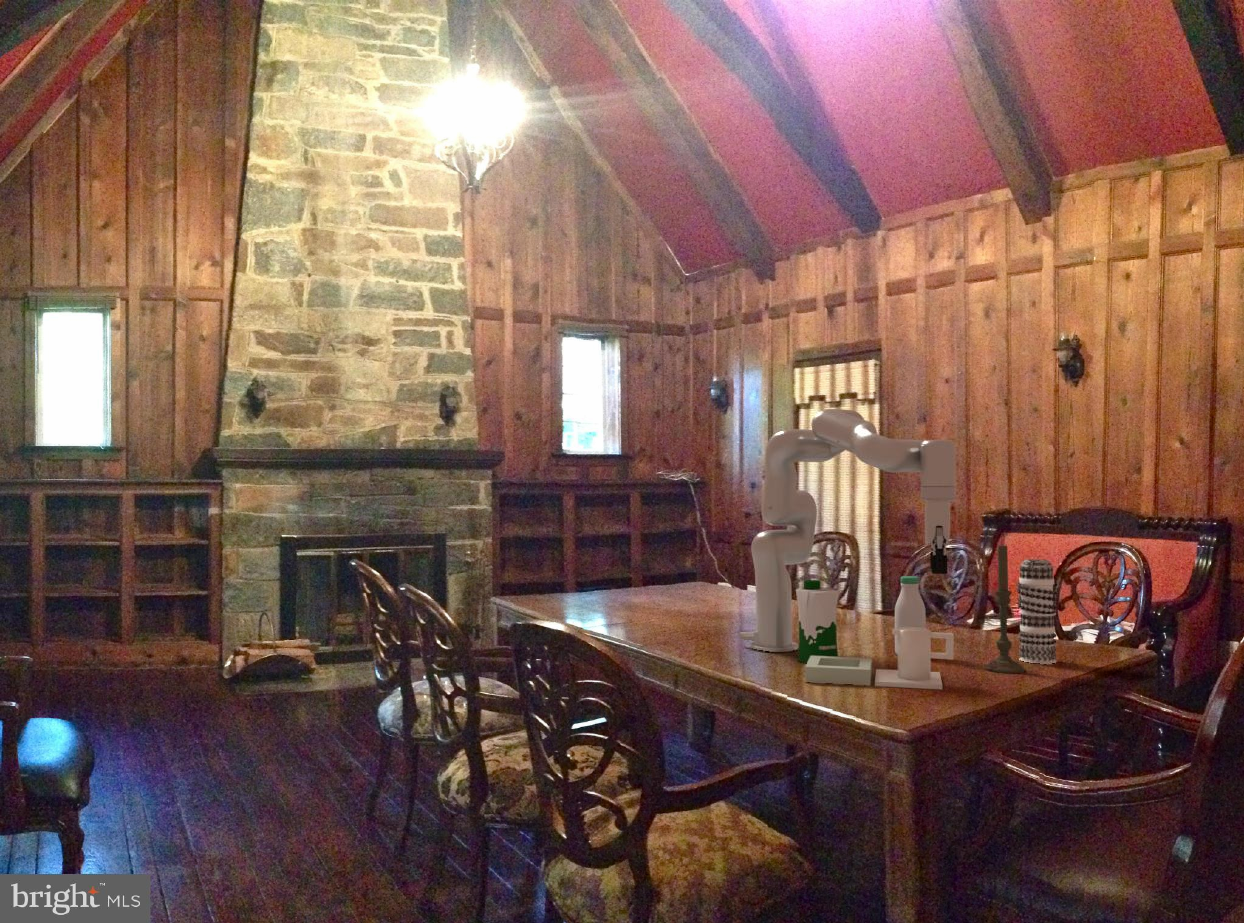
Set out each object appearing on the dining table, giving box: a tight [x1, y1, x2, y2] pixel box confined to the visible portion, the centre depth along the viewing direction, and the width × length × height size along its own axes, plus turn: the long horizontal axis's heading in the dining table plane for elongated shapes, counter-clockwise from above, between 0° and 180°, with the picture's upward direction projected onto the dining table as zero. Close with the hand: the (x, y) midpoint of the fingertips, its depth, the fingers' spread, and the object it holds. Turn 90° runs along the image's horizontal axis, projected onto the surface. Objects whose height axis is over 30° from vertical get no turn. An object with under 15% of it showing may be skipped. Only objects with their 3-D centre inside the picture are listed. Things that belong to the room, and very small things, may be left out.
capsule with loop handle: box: [891, 627, 955, 680], centre depth 213 cm, size 13×7×10 cm, turn 75°
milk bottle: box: [894, 575, 927, 655], centre depth 246 cm, size 8×8×20 cm
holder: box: [804, 656, 873, 687], centre depth 218 cm, size 14×14×4 cm
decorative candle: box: [1015, 558, 1058, 665], centre depth 236 cm, size 9×9×25 cm
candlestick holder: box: [983, 542, 1026, 674], centre depth 226 cm, size 9×9×30 cm
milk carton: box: [795, 579, 840, 664], centre depth 236 cm, size 9×9×20 cm
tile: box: [874, 668, 943, 690], centre depth 213 cm, size 14×14×1 cm
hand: (938, 571), depth 213 cm, fingers open, 9 cm apart
